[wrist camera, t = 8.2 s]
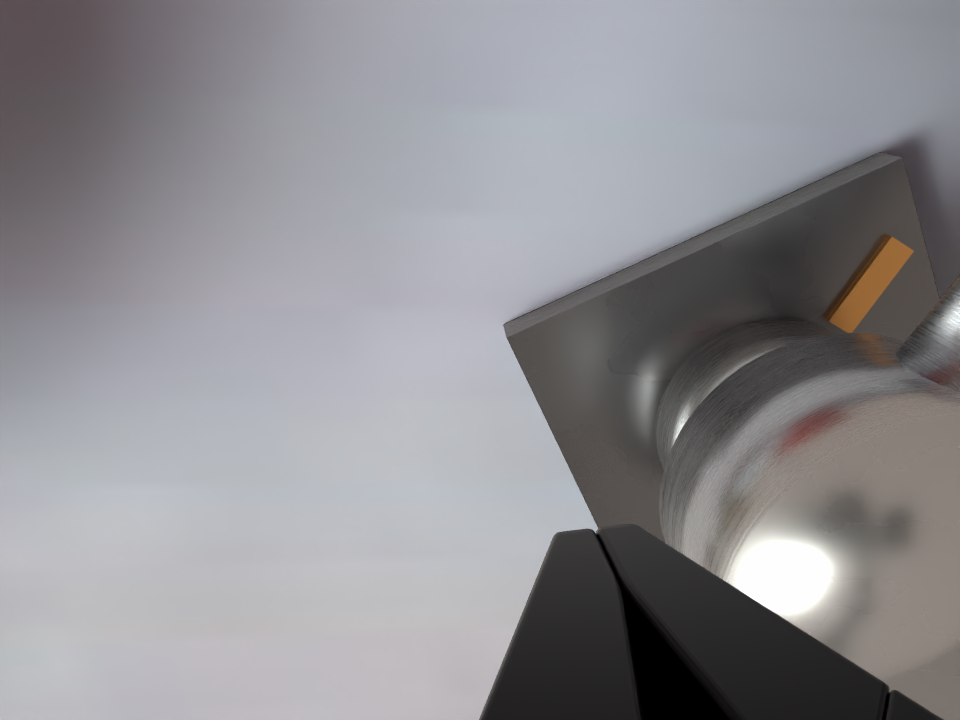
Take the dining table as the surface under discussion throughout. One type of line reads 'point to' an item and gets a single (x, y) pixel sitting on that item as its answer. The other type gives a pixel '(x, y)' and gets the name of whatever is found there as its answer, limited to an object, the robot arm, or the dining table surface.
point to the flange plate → (717, 323)
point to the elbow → (838, 496)
